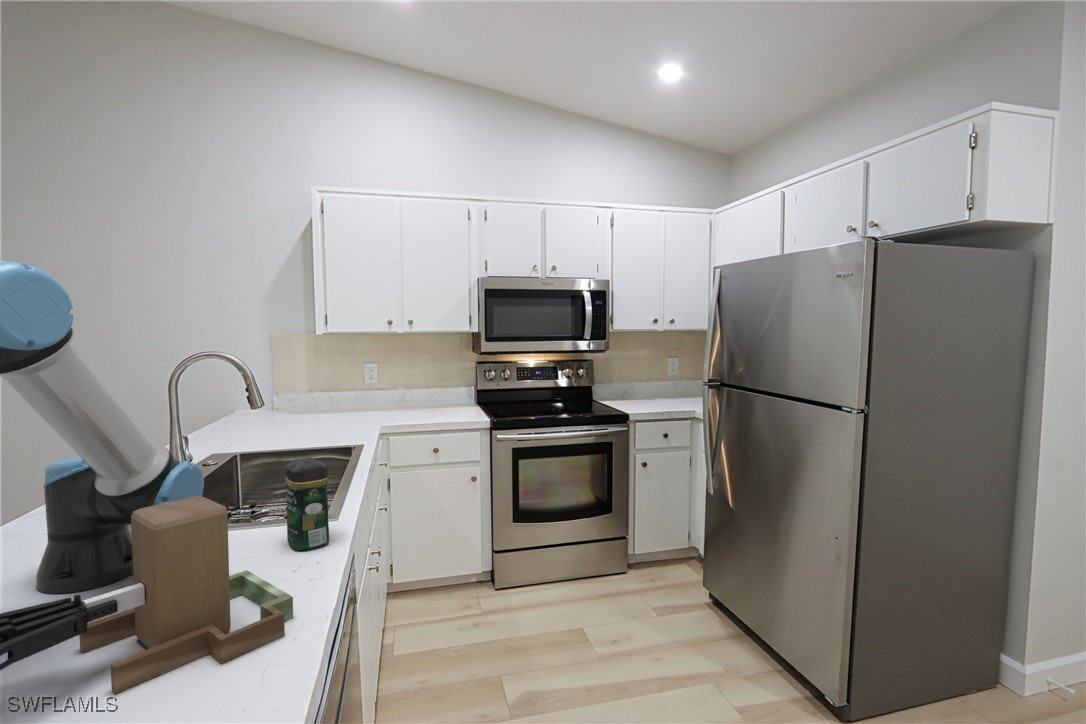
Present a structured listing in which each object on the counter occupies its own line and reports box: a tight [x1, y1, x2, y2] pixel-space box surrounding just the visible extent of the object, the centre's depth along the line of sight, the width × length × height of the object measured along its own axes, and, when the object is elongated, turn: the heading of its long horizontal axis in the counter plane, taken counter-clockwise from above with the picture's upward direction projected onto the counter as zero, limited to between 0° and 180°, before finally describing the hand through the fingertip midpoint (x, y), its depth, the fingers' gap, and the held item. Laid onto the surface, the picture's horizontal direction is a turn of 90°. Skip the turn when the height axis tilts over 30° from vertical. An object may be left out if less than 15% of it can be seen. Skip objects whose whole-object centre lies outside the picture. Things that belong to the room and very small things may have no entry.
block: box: [130, 495, 232, 649], centre depth 82 cm, size 10×10×20 cm
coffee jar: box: [285, 457, 330, 551], centre depth 118 cm, size 10×8×19 cm
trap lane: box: [79, 569, 294, 695], centre depth 83 cm, size 24×24×4 cm
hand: (142, 593), depth 77 cm, fingers closed
